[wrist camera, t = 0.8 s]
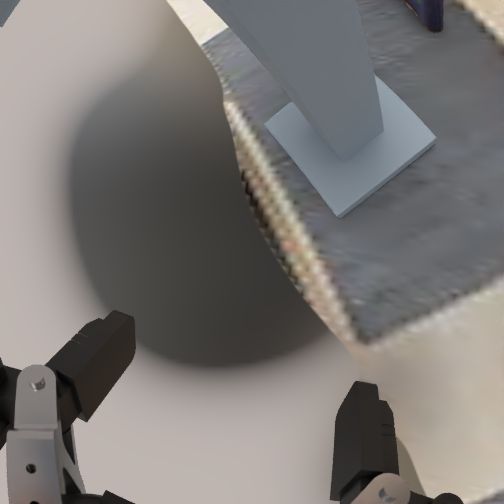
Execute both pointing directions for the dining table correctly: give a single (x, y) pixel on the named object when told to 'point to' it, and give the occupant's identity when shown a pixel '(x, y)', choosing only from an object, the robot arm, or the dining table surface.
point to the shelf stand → (325, 95)
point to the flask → (428, 13)
